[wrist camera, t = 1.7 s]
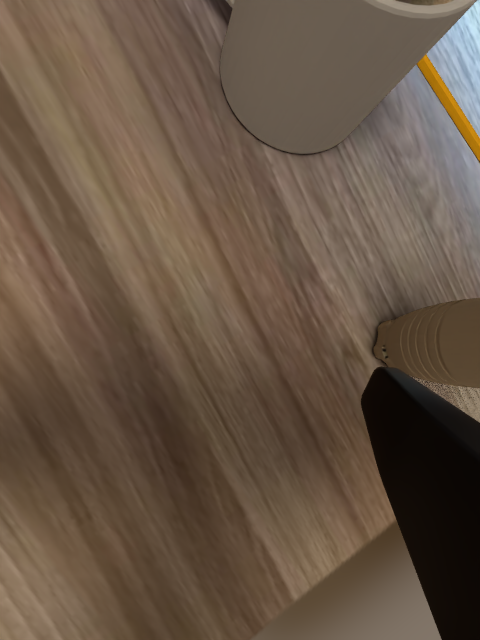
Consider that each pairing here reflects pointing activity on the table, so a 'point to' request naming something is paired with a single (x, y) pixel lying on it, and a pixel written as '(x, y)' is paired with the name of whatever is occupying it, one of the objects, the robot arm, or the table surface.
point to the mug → (323, 62)
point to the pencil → (450, 105)
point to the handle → (435, 343)
